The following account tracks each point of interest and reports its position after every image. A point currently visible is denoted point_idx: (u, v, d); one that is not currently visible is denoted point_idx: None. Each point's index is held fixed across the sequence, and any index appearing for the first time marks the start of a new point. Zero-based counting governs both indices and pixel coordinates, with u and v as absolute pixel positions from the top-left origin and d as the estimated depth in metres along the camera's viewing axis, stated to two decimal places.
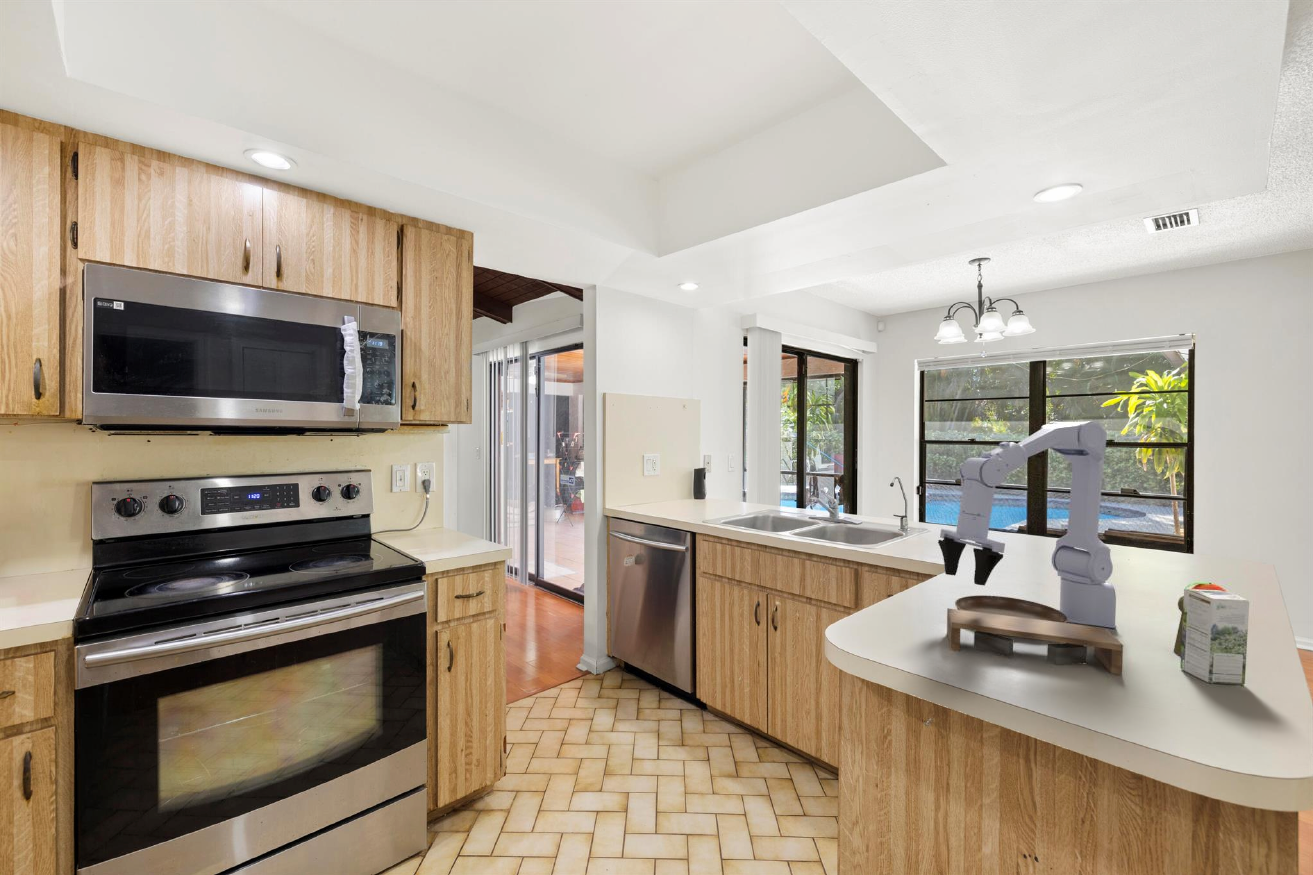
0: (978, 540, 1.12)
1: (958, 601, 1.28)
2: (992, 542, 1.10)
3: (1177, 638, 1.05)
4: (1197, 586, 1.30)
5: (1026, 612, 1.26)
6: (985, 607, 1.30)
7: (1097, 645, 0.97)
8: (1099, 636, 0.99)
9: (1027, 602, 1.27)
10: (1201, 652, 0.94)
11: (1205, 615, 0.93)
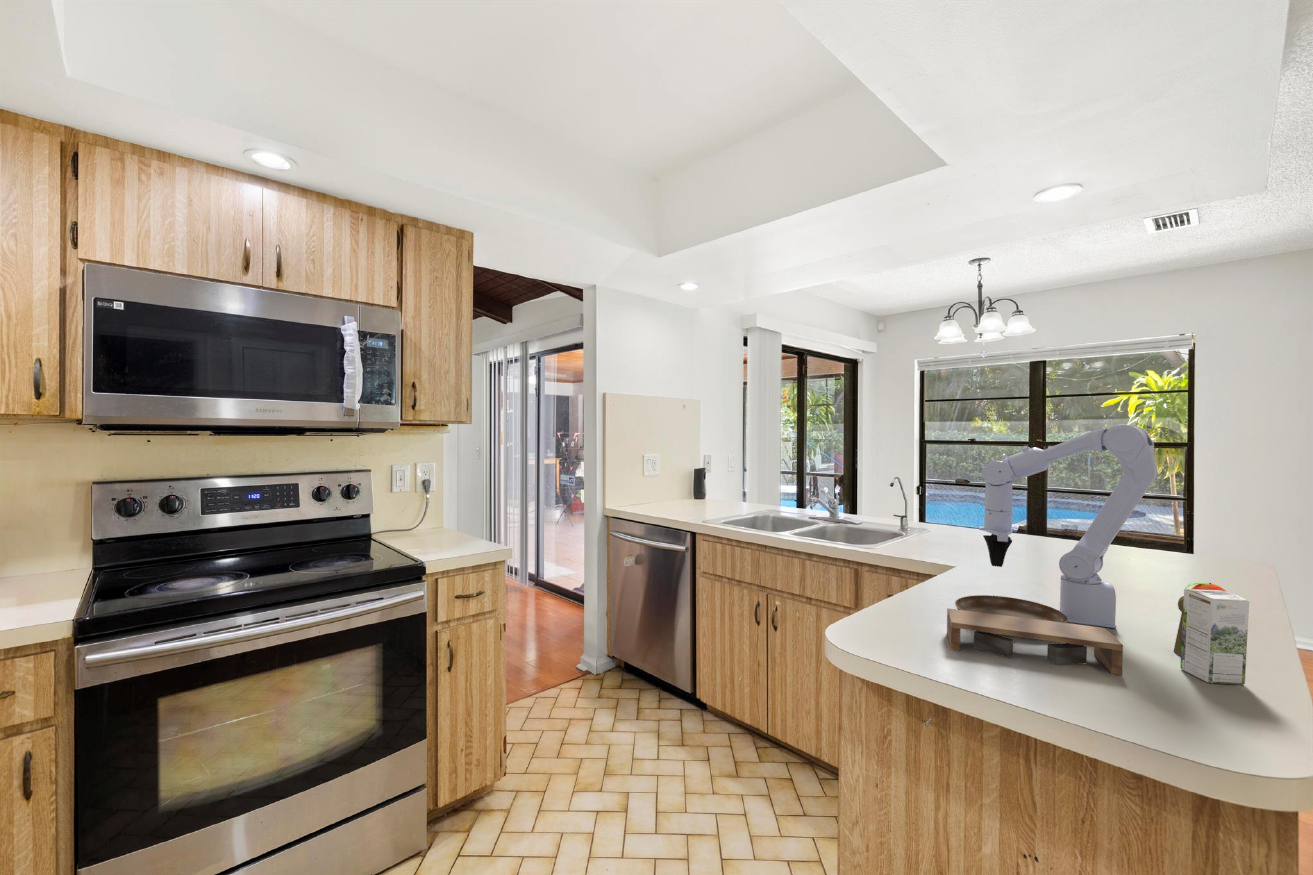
0: (991, 532, 1.33)
1: (958, 601, 1.28)
2: (997, 533, 1.30)
3: (1177, 638, 1.05)
4: (1197, 586, 1.30)
5: (1026, 612, 1.26)
6: (985, 607, 1.30)
7: (1097, 645, 0.97)
8: (1099, 636, 0.99)
9: (1027, 602, 1.27)
10: (1201, 652, 0.94)
11: (1205, 615, 0.93)
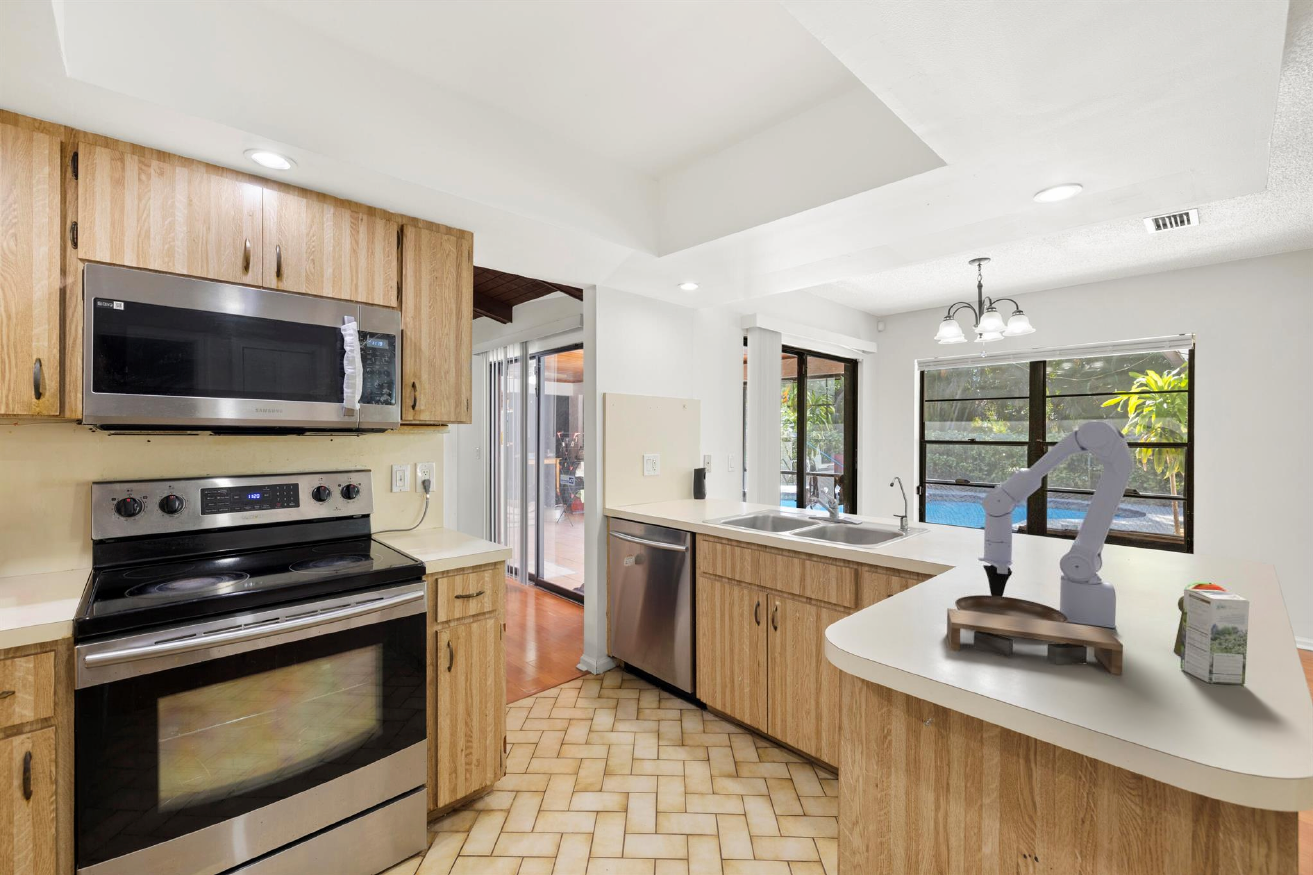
0: (990, 563, 1.33)
1: (958, 601, 1.28)
2: (996, 565, 1.30)
3: (1177, 638, 1.05)
4: (1197, 586, 1.30)
5: (1026, 612, 1.26)
6: (985, 607, 1.30)
7: (1097, 645, 0.97)
8: (1099, 636, 0.99)
9: (1027, 602, 1.27)
10: (1201, 652, 0.94)
11: (1205, 615, 0.93)
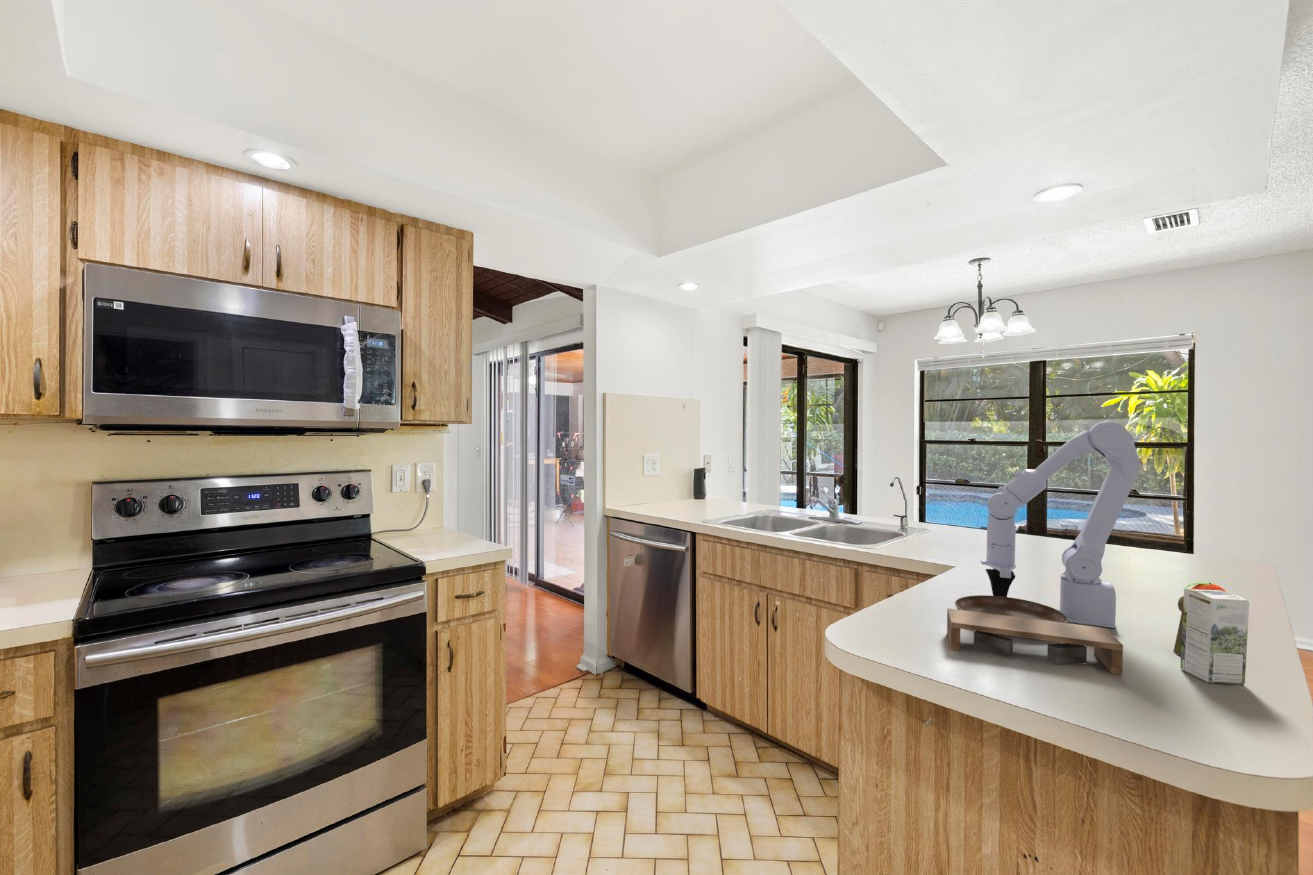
0: (993, 566, 1.29)
1: (958, 601, 1.28)
2: (999, 568, 1.26)
3: (1177, 638, 1.05)
4: (1197, 586, 1.30)
5: (1026, 612, 1.26)
6: (985, 607, 1.30)
7: (1097, 645, 0.97)
8: (1099, 636, 0.99)
9: (1027, 602, 1.27)
10: (1201, 652, 0.94)
11: (1205, 615, 0.93)
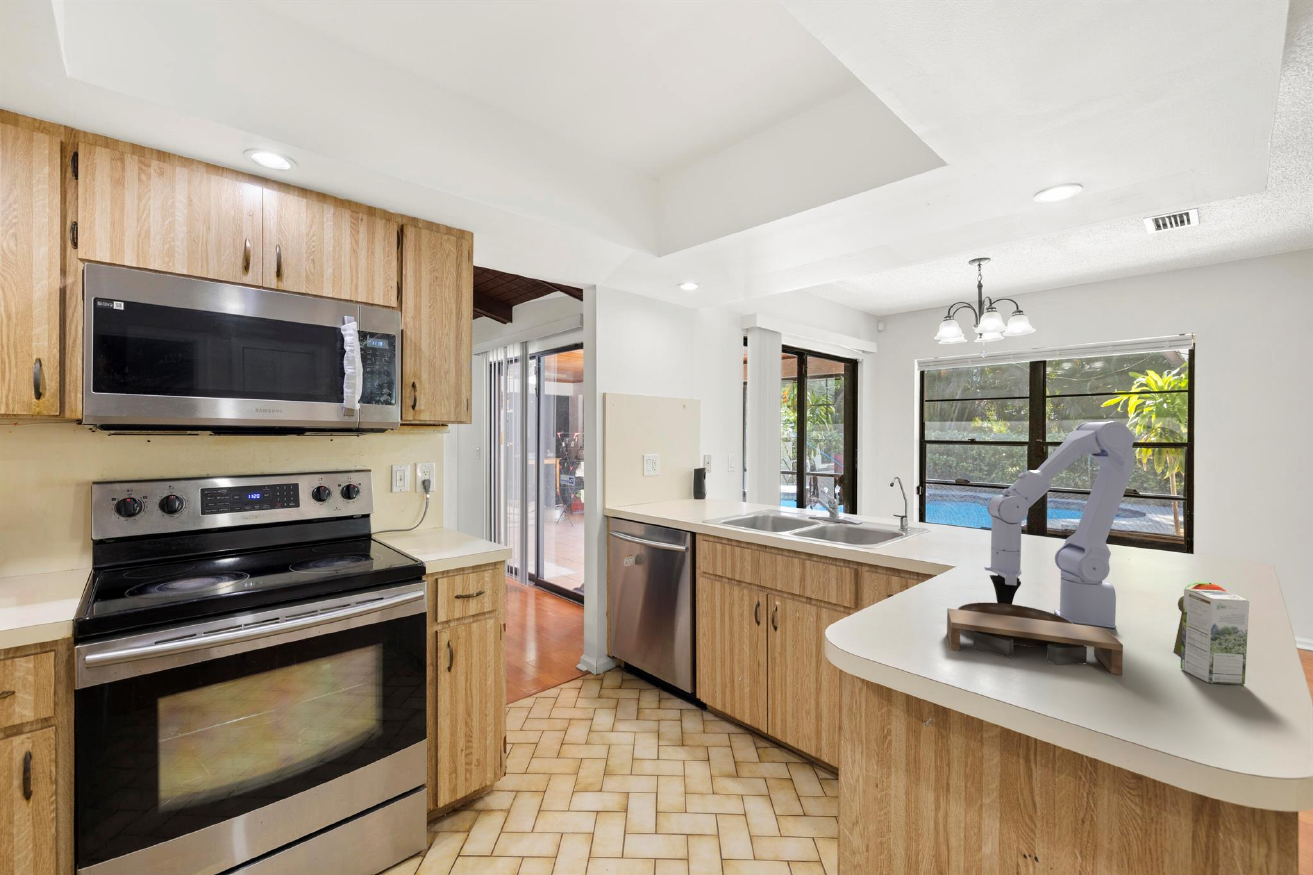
0: (998, 573, 1.23)
1: (961, 608, 1.23)
2: (1004, 575, 1.20)
3: (1177, 638, 1.05)
4: (1197, 586, 1.30)
5: None
6: None
7: (1097, 645, 0.97)
8: (1099, 636, 0.99)
9: (1035, 610, 1.21)
10: (1201, 652, 0.94)
11: (1205, 615, 0.93)
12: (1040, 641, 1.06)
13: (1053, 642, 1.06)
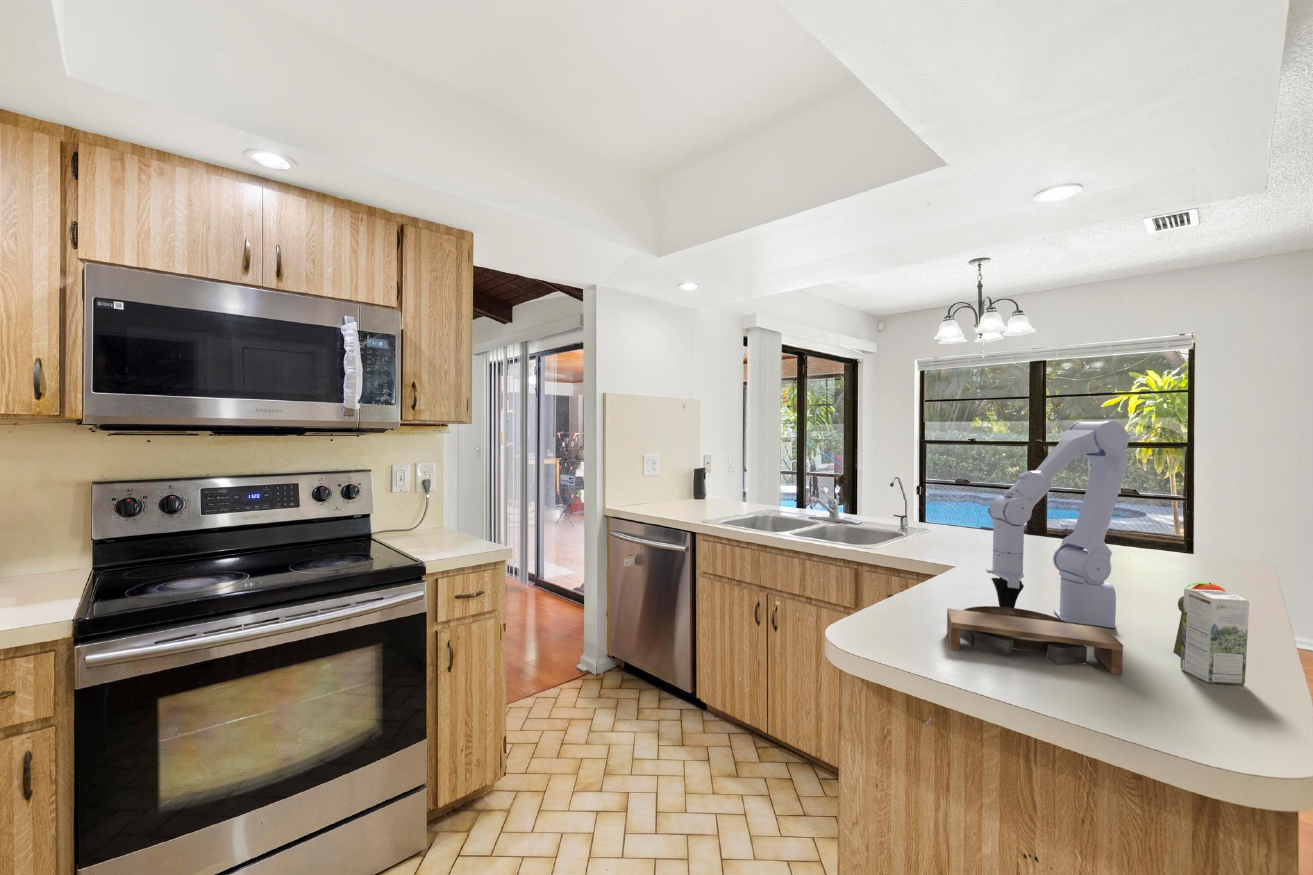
0: (1000, 576, 1.21)
1: None
2: (1007, 578, 1.18)
3: (1177, 638, 1.05)
4: (1197, 586, 1.30)
5: None
6: None
7: (1097, 645, 0.97)
8: (1099, 636, 0.99)
9: (1039, 614, 1.18)
10: (1201, 652, 0.94)
11: (1205, 615, 0.93)
12: (1044, 646, 1.03)
13: None
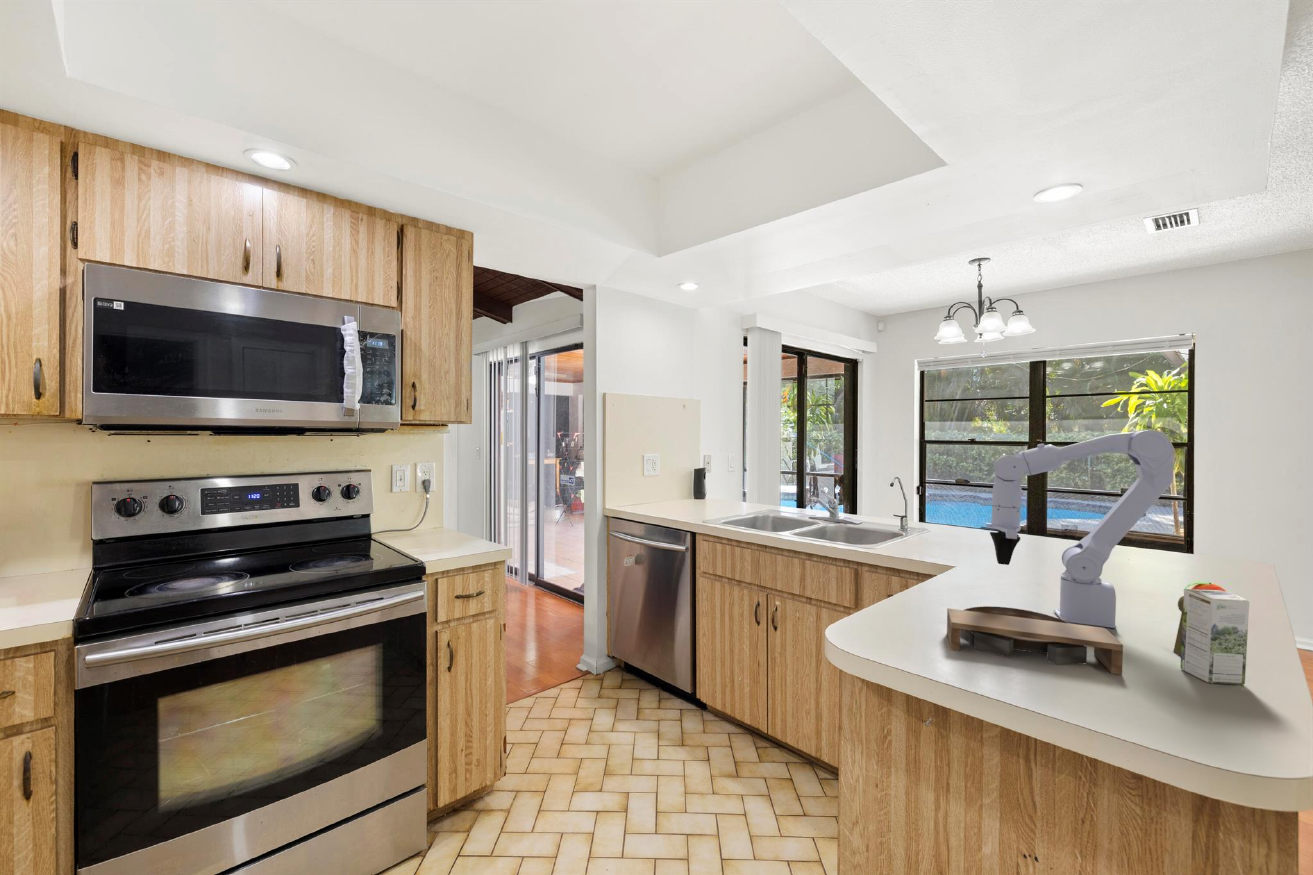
0: (999, 528, 1.28)
1: None
2: (1005, 530, 1.25)
3: (1177, 638, 1.05)
4: (1197, 586, 1.30)
5: None
6: None
7: (1097, 645, 0.97)
8: (1099, 636, 0.99)
9: (1039, 615, 1.18)
10: (1201, 652, 0.94)
11: (1205, 615, 0.93)
12: (1044, 646, 1.03)
13: None
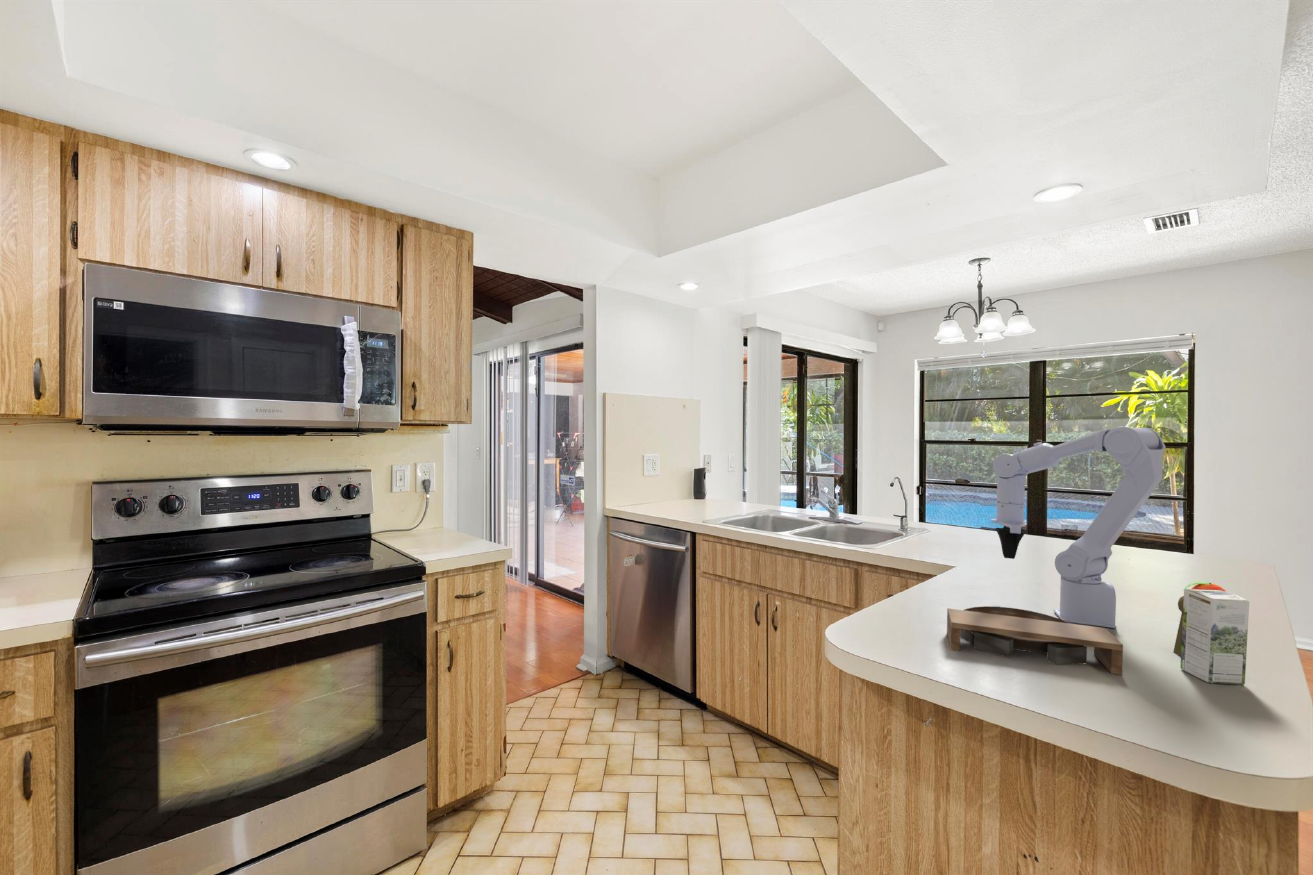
0: (1003, 524, 1.35)
1: None
2: (1009, 525, 1.32)
3: (1177, 638, 1.05)
4: (1197, 586, 1.30)
5: None
6: None
7: (1097, 645, 0.97)
8: (1099, 636, 0.99)
9: (1039, 615, 1.18)
10: (1201, 652, 0.94)
11: (1205, 615, 0.93)
12: (1044, 646, 1.03)
13: None
